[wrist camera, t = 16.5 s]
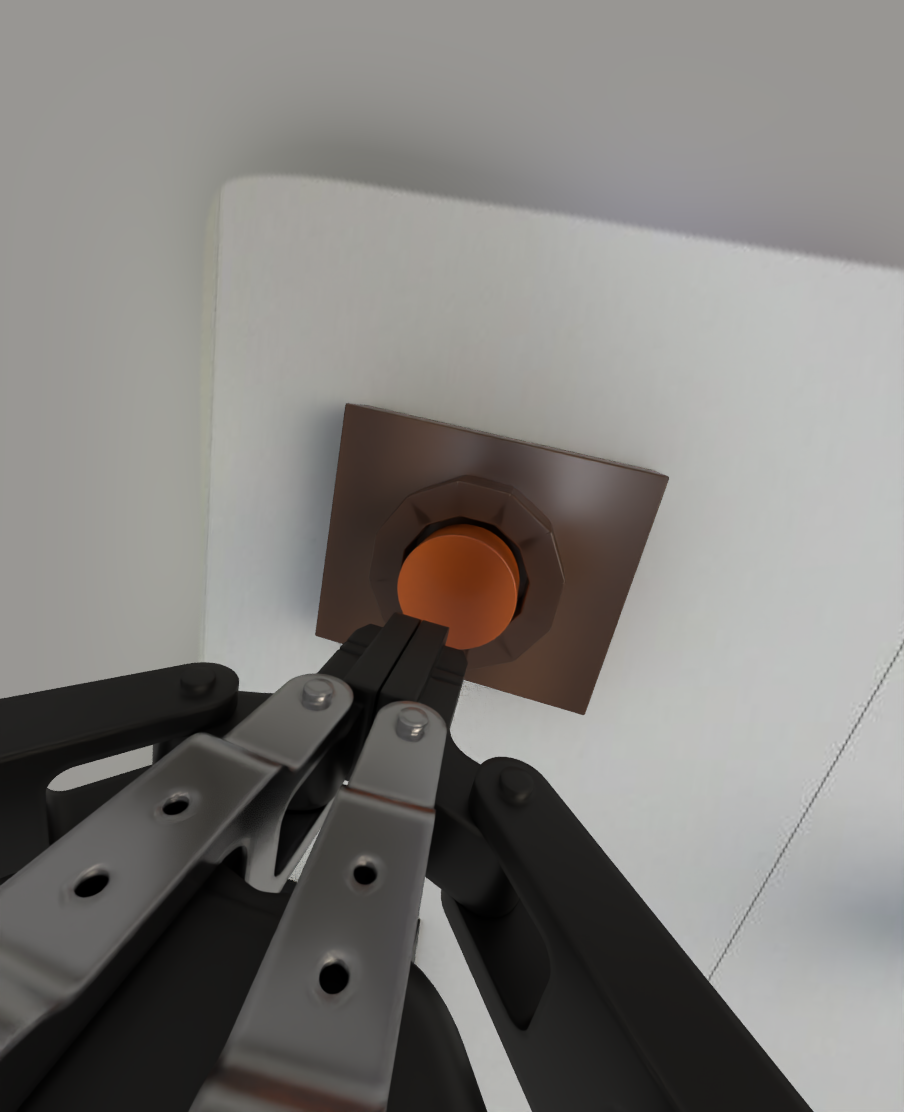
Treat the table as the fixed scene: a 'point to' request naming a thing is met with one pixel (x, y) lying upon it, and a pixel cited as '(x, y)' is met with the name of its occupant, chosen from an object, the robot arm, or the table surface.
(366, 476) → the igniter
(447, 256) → the table surface
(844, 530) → the table surface
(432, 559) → the button
